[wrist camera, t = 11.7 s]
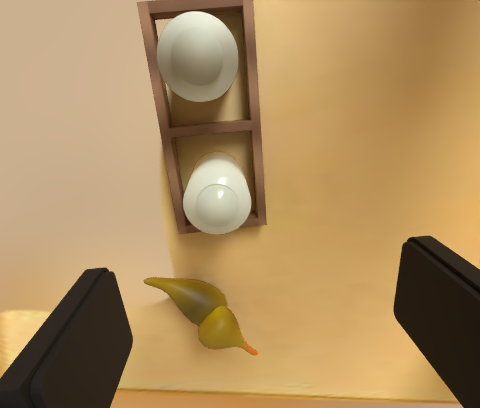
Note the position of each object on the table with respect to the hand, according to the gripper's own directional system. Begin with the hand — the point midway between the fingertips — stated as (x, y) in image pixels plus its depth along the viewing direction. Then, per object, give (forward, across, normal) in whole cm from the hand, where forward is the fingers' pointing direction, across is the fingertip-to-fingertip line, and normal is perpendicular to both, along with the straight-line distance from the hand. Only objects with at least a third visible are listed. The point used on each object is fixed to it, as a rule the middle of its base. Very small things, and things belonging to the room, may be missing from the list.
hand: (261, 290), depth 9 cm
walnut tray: (+21, +2, -3) cm, 21 cm away
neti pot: (+21, +5, +16) cm, 27 cm away
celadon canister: (+21, +2, +2) cm, 21 cm away
